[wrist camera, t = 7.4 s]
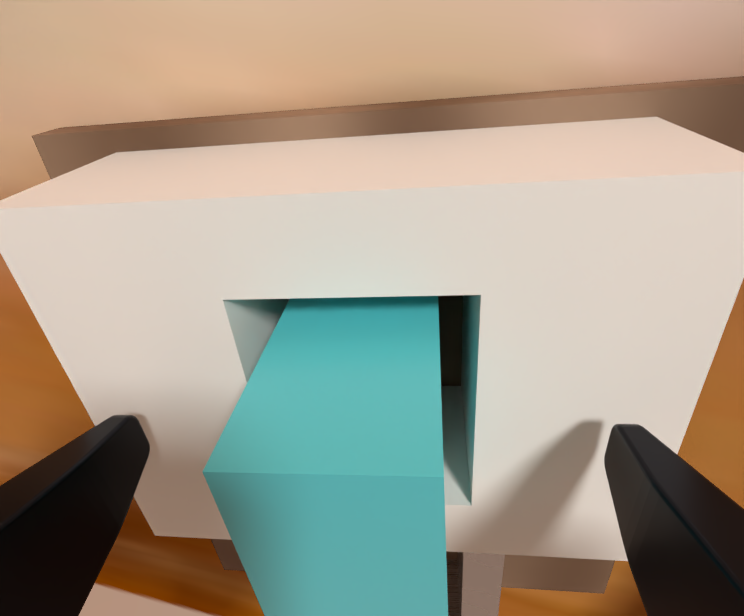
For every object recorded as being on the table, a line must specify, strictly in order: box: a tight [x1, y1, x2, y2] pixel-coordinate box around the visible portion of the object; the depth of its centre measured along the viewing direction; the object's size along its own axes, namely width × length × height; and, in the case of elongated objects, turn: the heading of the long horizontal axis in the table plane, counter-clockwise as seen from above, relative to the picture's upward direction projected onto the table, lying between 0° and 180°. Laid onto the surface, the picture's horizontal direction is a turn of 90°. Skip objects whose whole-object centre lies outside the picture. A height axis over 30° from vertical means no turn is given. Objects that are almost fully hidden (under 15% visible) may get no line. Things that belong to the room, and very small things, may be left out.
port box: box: [0, 117, 744, 561], centre depth 11 cm, size 12×9×4 cm
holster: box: [446, 552, 505, 616], centre depth 16 cm, size 7×8×2 cm
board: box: [32, 76, 744, 593], centre depth 15 cm, size 16×18×1 cm
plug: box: [203, 296, 448, 616], centre depth 10 cm, size 3×4×7 cm
